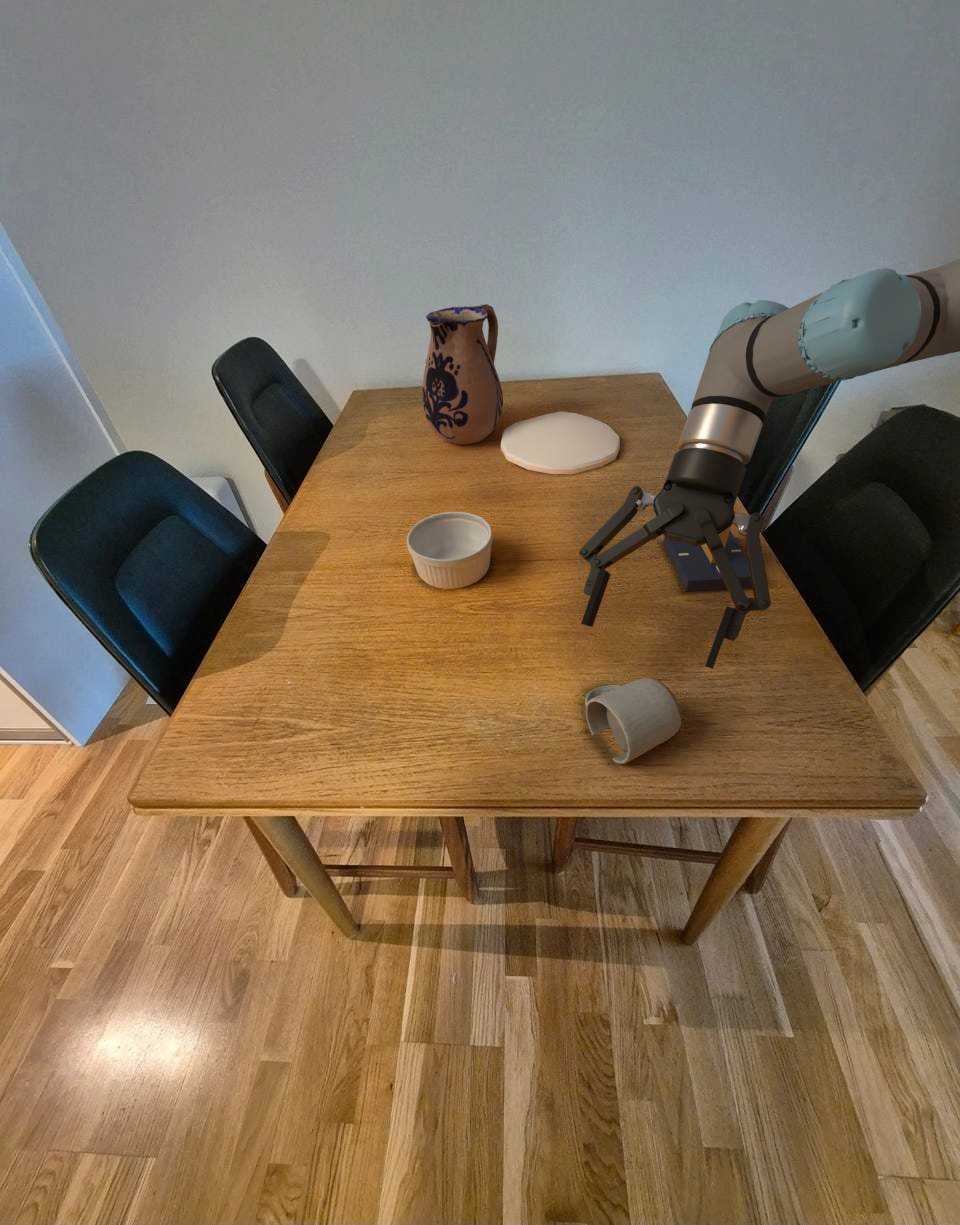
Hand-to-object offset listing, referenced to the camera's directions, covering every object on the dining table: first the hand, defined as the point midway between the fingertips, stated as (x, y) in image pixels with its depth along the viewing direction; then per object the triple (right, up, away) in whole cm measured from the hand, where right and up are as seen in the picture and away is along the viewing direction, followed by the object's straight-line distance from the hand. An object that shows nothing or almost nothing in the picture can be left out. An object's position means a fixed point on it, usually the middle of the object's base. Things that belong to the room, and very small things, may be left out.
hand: (644, 645), depth 58 cm
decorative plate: (-1, +39, +56) cm, 68 cm away
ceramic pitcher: (-20, +45, +64) cm, 81 cm away
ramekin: (-22, +10, +28) cm, 37 cm away
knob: (+17, +13, +22) cm, 30 cm away
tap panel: (+17, +10, +24) cm, 31 cm away
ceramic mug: (-2, -10, +4) cm, 11 cm away
